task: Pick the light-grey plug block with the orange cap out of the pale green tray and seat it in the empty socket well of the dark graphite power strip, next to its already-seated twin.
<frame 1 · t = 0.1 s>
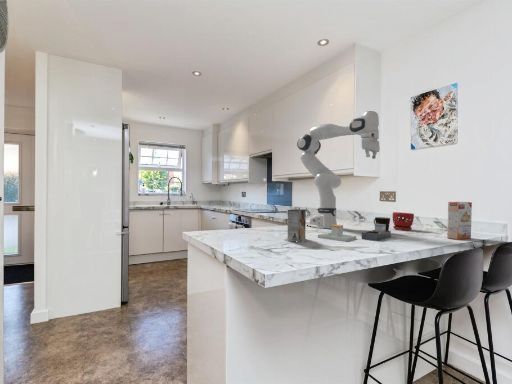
hand: (370, 157, 176), 48 cm above the countertop, tool pointing down, fingers open, 8 cm apart
cracker box: (459, 238, 155), on the countertop
plant pot: (402, 230, 191), on the countertop
plug: (337, 238, 147), point 1 cm above the countertop, touching tray
twin plug: (380, 236, 153), point 1 cm above the countertop, touching power strip
tray: (336, 239, 147), on the countertop
coffee mug: (381, 233, 171), on the countertop
power strip: (376, 238, 150), on the countertop
coffee box: (296, 241, 141), on the countertop
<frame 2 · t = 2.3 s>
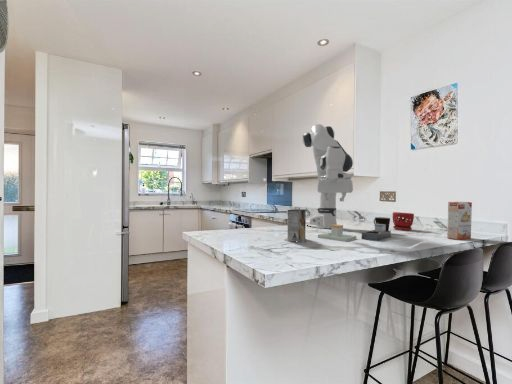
hand: (334, 201, 148), 20 cm above the countertop, tool pointing down, fingers open, 8 cm apart
nothing on the countertop moved.
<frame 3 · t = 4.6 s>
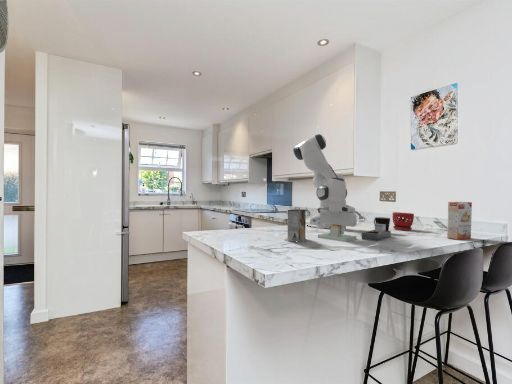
hand: (337, 233, 147), 3 cm above the countertop, tool pointing down, fingers closed on plug, 4 cm apart
plug: (336, 238, 147), point 1 cm above the countertop, touching gripper, tray
everything else where it was.
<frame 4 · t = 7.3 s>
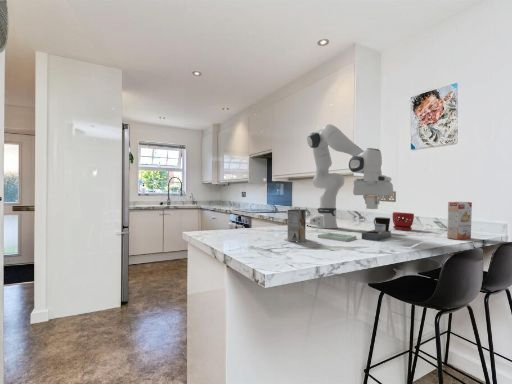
hand: (372, 204, 146), 19 cm above the countertop, tool pointing down, fingers closed on plug, 4 cm apart
plug: (372, 208, 146), point 17 cm above the countertop, touching gripper
everything else where it was.
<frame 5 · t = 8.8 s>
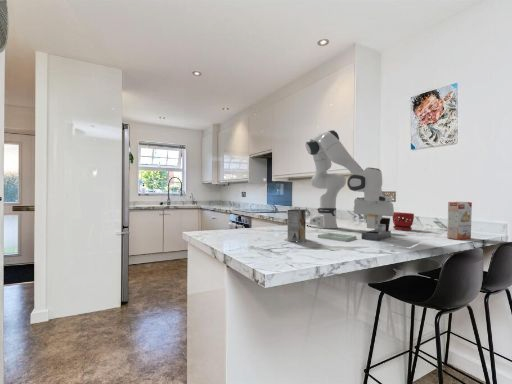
hand: (372, 223, 146), 9 cm above the countertop, tool pointing down, fingers closed on plug, 4 cm apart
plug: (372, 228, 146), point 6 cm above the countertop, touching gripper
everything else where it was.
when the fingers open (5 cm above the countertop, at t = 10.0 s): plug drops 2 cm, resting on power strip.
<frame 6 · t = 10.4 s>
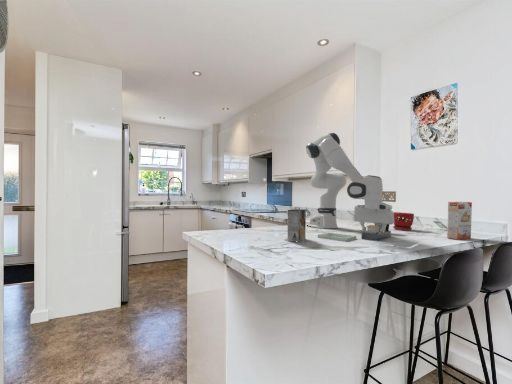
hand: (373, 231, 146), 5 cm above the countertop, tool pointing down, fingers open, 8 cm apart
plug: (372, 238, 146), point 1 cm above the countertop, touching power strip
everything else where it was.
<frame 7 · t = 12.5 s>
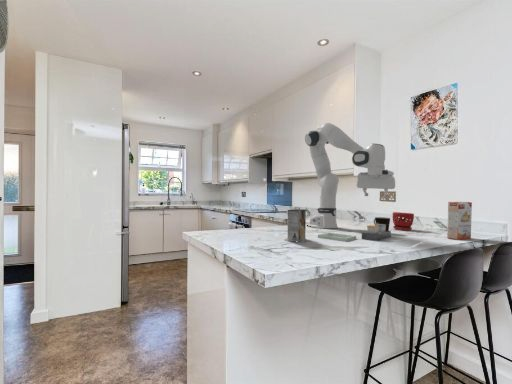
hand: (374, 196, 155), 23 cm above the countertop, tool pointing down, fingers open, 8 cm apart
nothing on the countertop moved.
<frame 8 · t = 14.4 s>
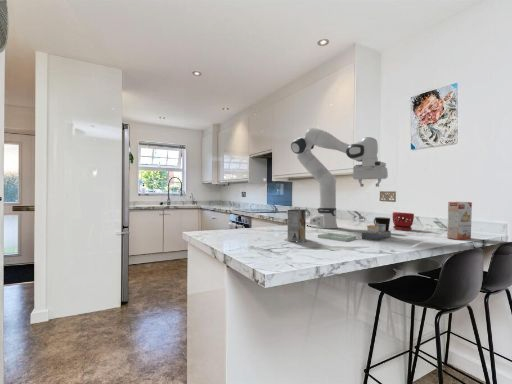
hand: (369, 186, 167), 29 cm above the countertop, tool pointing down, fingers open, 8 cm apart
nothing on the countertop moved.
at the end: plug 0.1 cm from the target spot on the power strip, point 0.6 cm above the power strip's base; plug tilted 0°; twin plug moved 0.0 cm from its start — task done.
